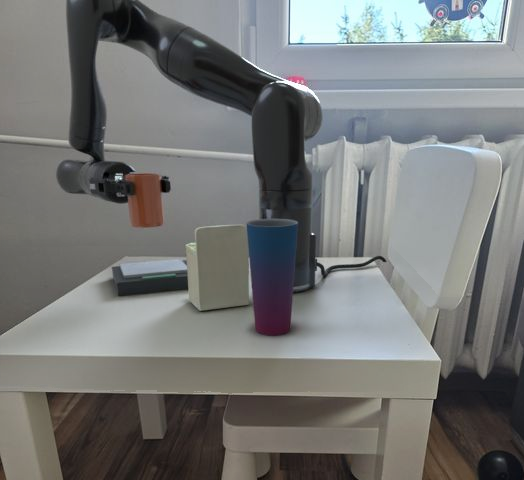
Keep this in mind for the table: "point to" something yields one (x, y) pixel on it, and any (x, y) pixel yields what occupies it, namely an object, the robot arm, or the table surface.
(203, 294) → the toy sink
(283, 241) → the cup
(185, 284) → the scale
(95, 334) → the table surface
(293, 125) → the robot arm
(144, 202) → the tumbler
